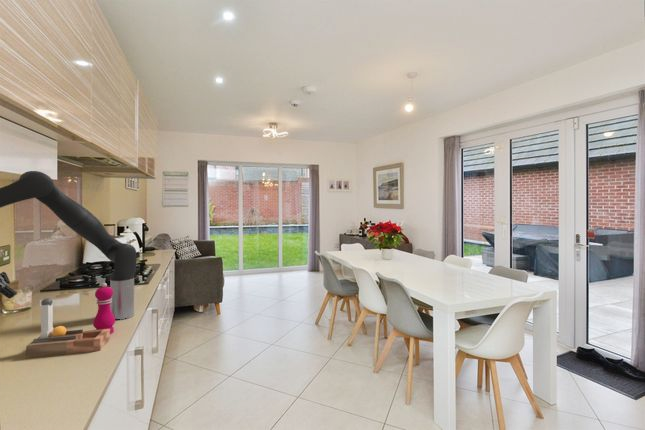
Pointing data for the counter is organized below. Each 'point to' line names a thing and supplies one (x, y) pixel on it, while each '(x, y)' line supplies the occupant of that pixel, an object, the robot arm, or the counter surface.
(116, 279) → the robot arm
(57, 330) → the ball
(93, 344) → the launcher track
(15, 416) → the counter surface
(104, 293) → the pepper mill
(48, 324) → the launcher plunger
